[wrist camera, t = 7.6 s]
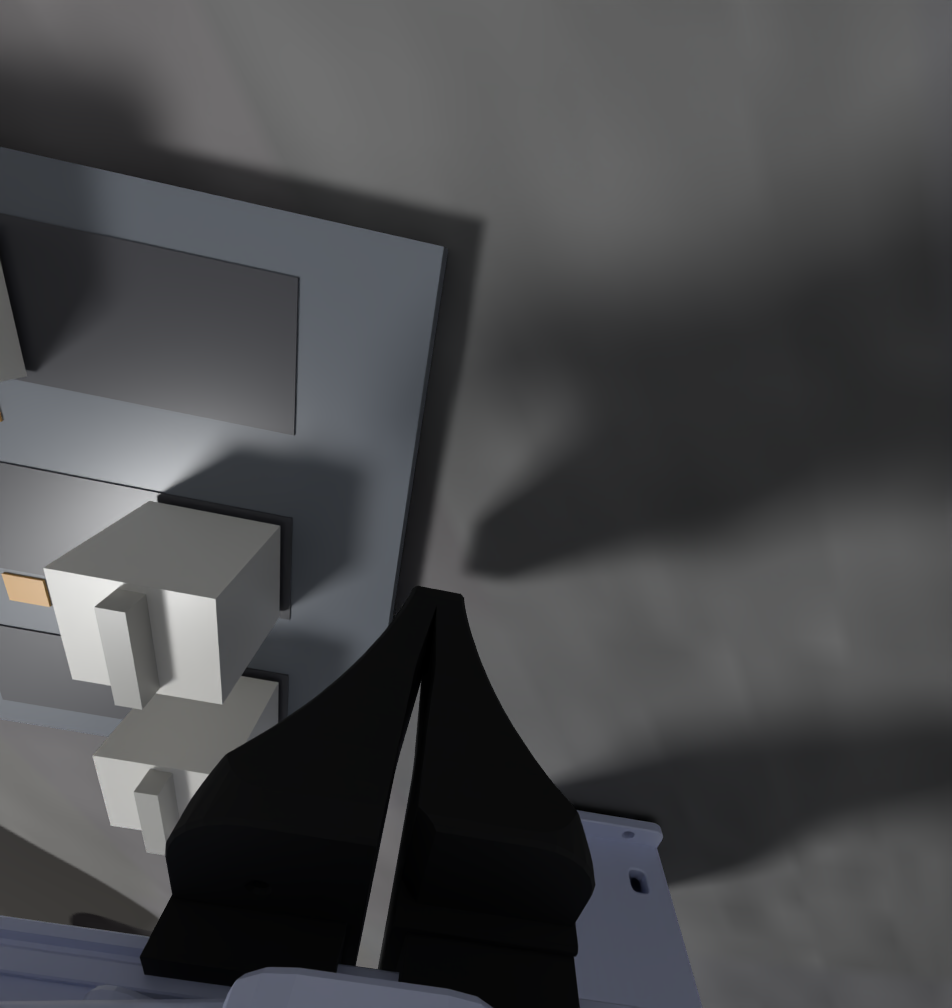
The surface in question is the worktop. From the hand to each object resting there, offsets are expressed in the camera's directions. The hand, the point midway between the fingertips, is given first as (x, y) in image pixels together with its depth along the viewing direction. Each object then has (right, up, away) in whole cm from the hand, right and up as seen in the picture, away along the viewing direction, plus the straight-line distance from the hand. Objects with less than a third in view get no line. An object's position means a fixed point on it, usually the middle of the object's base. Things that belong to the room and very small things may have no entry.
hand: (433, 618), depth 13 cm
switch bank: (-9, +3, +1) cm, 9 cm away
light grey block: (-7, -4, +3) cm, 9 cm away
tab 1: (-6, +2, 0) cm, 6 cm away
